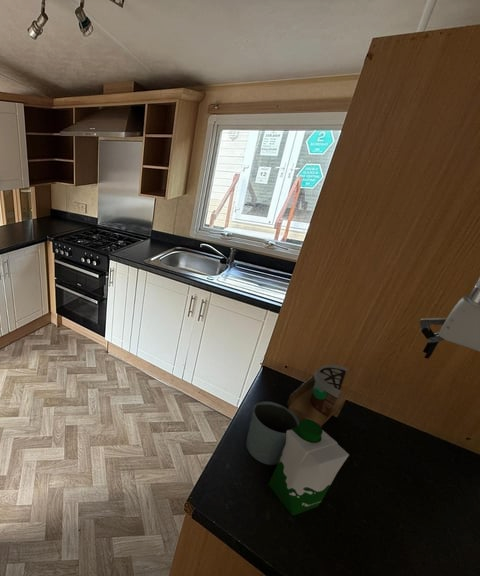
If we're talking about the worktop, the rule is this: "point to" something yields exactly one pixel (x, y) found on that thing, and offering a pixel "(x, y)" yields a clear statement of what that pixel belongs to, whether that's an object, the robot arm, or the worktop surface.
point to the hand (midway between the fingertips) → (457, 367)
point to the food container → (327, 387)
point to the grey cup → (269, 431)
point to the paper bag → (304, 408)
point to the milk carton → (306, 467)
